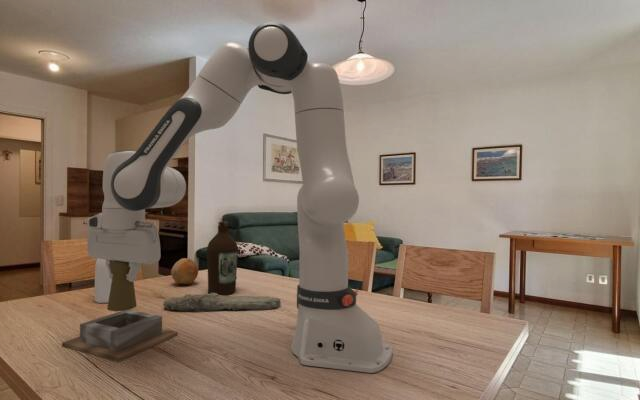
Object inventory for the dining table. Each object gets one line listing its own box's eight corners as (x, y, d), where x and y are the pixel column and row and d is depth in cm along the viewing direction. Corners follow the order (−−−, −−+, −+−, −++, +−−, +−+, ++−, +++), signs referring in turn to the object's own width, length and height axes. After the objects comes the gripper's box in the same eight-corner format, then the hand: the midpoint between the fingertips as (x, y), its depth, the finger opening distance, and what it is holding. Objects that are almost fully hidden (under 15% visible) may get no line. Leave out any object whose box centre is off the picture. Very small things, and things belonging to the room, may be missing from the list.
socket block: (177, 335, 89) (177, 315, 89) (118, 361, 75) (118, 338, 74) (125, 323, 96) (125, 305, 96) (62, 346, 82) (62, 324, 82)
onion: (165, 287, 136) (165, 260, 136) (180, 281, 146) (180, 256, 146) (189, 288, 134) (189, 261, 134) (202, 282, 144) (202, 256, 144)
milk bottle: (127, 299, 119) (127, 238, 119) (102, 305, 112) (103, 240, 112) (114, 295, 123) (114, 236, 123) (89, 300, 117) (90, 238, 116)
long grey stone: (280, 316, 109) (279, 308, 119) (281, 299, 109) (281, 292, 119) (158, 312, 105) (168, 304, 115) (159, 294, 105) (169, 287, 115)
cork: (123, 312, 82) (124, 262, 82) (100, 309, 83) (101, 261, 83) (142, 304, 88) (143, 258, 88) (121, 302, 89) (121, 257, 89)
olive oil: (200, 292, 130) (201, 221, 130) (227, 287, 137) (228, 220, 137) (215, 298, 122) (216, 223, 122) (243, 292, 129) (244, 222, 129)
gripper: (168, 221, 84) (166, 282, 84) (106, 218, 92) (105, 273, 92) (145, 223, 78) (143, 288, 78) (81, 219, 86) (80, 277, 86)
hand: (122, 279), depth 85 cm, fingers closed on cork, 4 cm apart
